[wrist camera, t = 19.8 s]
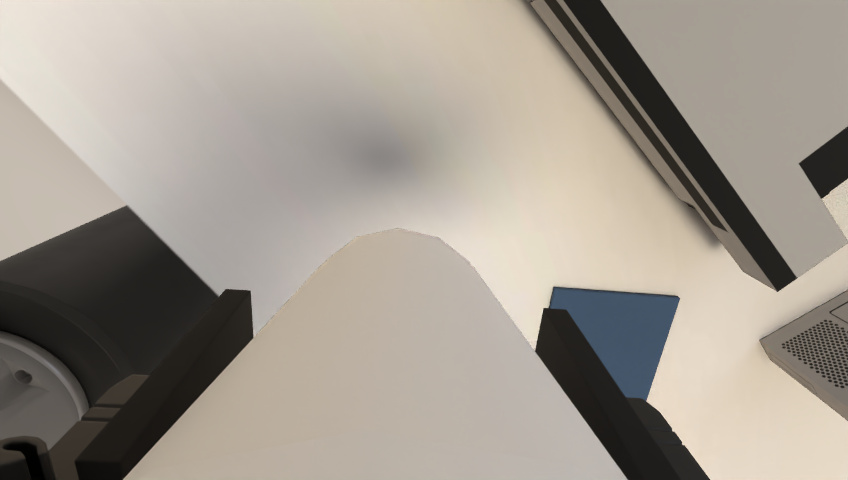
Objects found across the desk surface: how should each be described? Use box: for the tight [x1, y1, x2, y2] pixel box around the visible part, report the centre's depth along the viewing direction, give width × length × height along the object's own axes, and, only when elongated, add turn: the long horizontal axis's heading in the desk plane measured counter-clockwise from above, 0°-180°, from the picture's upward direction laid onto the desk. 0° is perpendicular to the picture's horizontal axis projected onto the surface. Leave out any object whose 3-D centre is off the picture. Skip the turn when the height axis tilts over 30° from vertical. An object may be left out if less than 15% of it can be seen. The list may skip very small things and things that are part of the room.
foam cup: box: [123, 228, 628, 480], centre depth 10 cm, size 10×9×13 cm
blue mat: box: [549, 287, 680, 401], centre depth 39 cm, size 11×11×1 cm
